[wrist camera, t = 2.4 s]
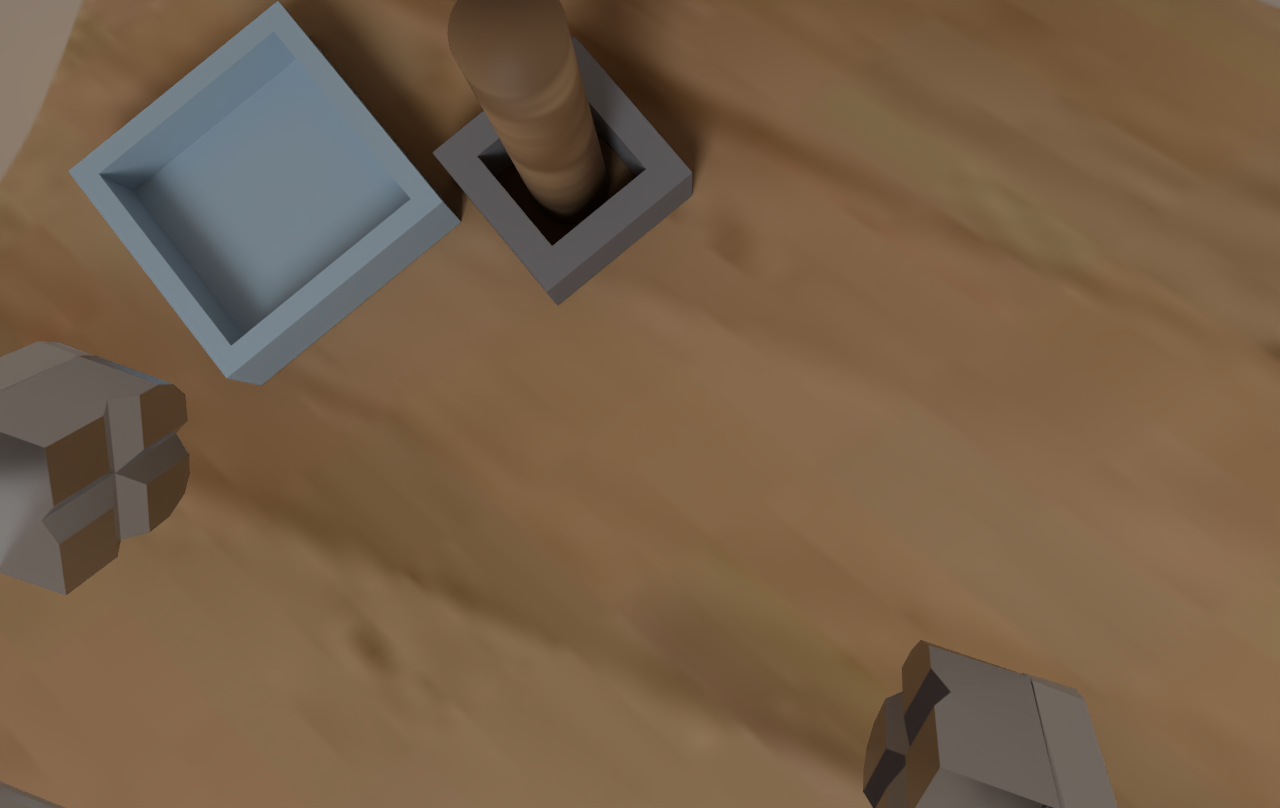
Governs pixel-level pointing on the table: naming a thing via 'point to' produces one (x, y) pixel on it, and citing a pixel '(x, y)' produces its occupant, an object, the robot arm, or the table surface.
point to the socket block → (607, 229)
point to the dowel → (533, 99)
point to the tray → (263, 198)
